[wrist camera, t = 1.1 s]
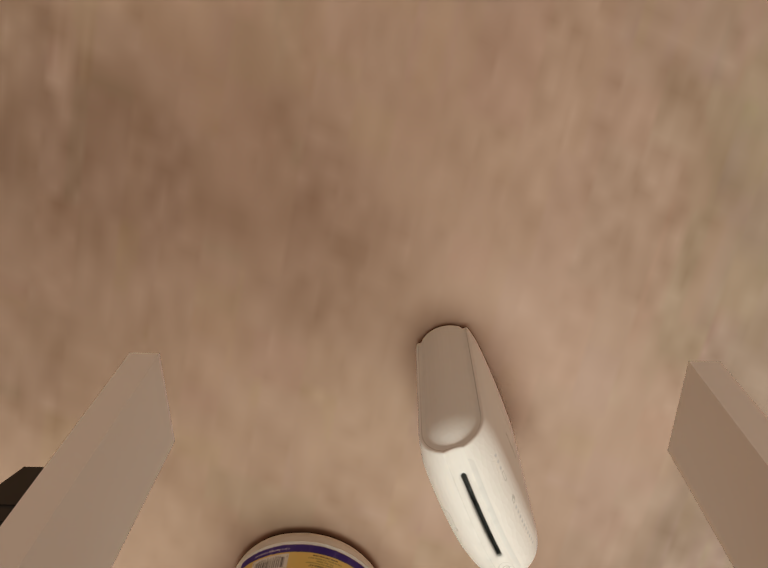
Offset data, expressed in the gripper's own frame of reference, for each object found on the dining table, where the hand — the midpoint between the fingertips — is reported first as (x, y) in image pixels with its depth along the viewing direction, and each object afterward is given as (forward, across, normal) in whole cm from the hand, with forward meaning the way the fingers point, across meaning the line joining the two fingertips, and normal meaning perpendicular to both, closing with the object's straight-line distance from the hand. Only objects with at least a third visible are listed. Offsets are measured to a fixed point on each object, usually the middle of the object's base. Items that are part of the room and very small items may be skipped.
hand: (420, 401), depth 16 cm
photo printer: (+23, +4, -15) cm, 28 cm away
